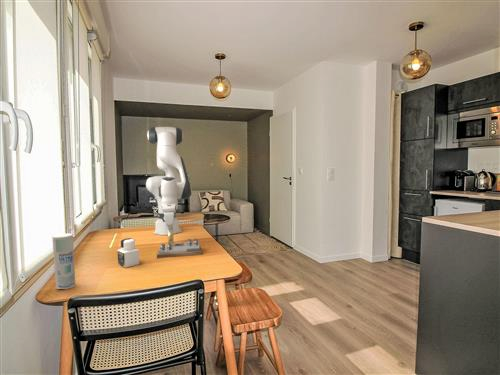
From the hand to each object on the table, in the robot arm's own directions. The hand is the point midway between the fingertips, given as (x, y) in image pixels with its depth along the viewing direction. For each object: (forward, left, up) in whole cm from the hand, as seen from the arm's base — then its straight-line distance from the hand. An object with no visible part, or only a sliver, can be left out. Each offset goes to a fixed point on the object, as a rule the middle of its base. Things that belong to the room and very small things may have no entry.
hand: (170, 231), depth 163 cm
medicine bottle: (+23, -18, -10) cm, 31 cm away
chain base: (+11, +5, -9) cm, 16 cm away
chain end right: (+11, +8, -8) cm, 16 cm away
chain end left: (+11, +2, -8) cm, 14 cm away
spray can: (+44, -37, -10) cm, 59 cm away
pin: (-1, 0, -9) cm, 9 cm away
